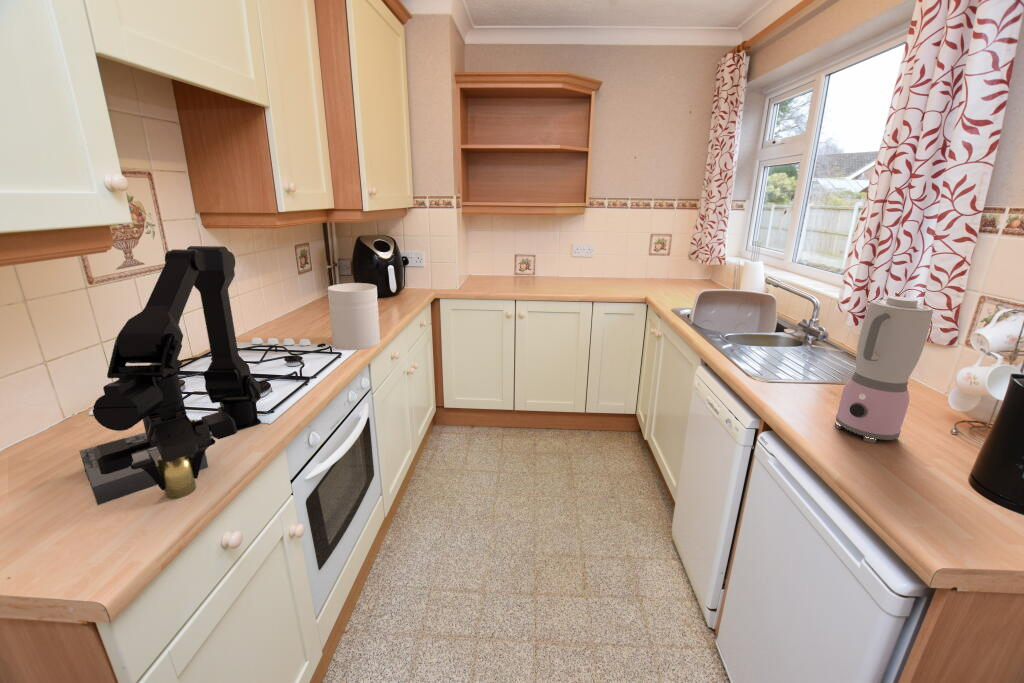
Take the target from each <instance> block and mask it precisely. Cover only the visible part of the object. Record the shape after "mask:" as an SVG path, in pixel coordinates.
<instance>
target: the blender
mask: <svg viewBox="0 0 1024 683" xmlns="http://www.w3.org/2000/svg"><path fill="white" fill-rule="evenodd" d="M933 314H934V310H933V308H932V307H930V306H927V305H924V304H919V302H918V299H915V298H911V297H904V296H890V295H889V296H887V298H886V299H874V300H871V301H870V302H869V303H868V304H867V308H866V313H865V315H864V316H863V317H864V318H863V321H862V324H861V328H860V331H859V332H860V333H859V335H858V340H857V346H856V357H855V370H854V372H853V375H851V377H850V378H849V379H848V380H847V381H846V383H845V385H844V386H843V388H842V392H841V395H840V400H839V404H838V408H837V413H836V414H835V415H836V416H835V418H836V421H837V422H838V423H839V424H840V425H841V426H843V427H844V428H846V429H847V430H846V429H845V430H846V431H848V430H850V431H849V432H851V431H852V432H851V433H853V432H854V433H853V434H856V433H857V434H856V435H859V436H862V435H863V436H862V437H863V442H866V443H872V444H876V442H877V440H883V441H886V440H890V441H891V440H896V439H898V438H899V437H900V435H901V431H902V430H901V429H902V426H903V424H904V420H905V418H906V414H907V411H908V407H909V404H910V393H909V390H908V381H909V378H910V377H911V375H912V373H913V372H914V370H915V369H916V366H917V364H918V362H919V360H920V357H921V356H922V354H923V350H924V348H925V344H926V341H927V338H928V335H929V330H930V328H931V322H932V318H933ZM834 426H835V428H836V429H837V430H841V429H842V428H843V427H841V426H839V425H837V424H836V422H835V421H834ZM844 428H843V429H844ZM864 436H866V437H869V438H866V437H864ZM870 438H874V439H870ZM875 439H877V440H875Z"/></svg>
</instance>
